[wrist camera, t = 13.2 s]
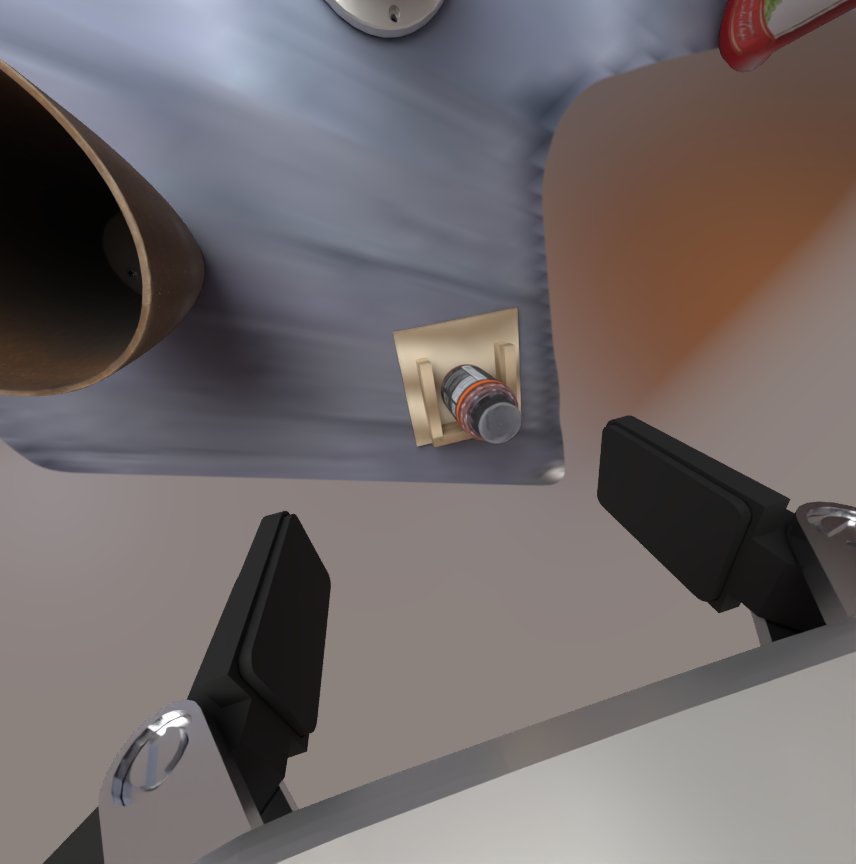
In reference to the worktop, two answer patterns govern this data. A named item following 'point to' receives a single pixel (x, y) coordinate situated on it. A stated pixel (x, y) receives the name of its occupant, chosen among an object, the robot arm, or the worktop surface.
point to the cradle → (446, 349)
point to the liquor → (771, 27)
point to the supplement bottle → (481, 404)
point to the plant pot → (80, 251)
